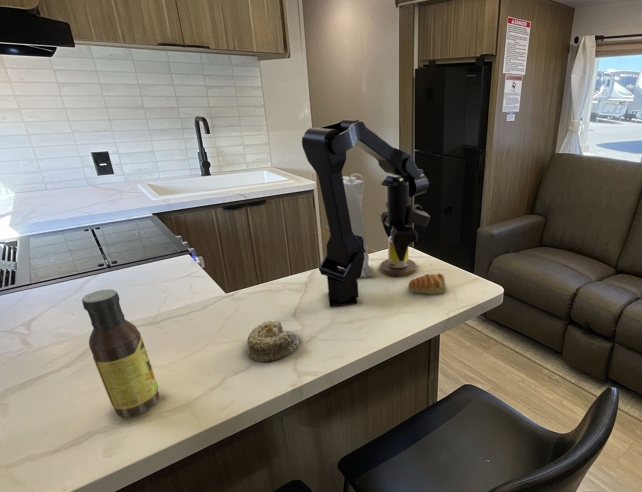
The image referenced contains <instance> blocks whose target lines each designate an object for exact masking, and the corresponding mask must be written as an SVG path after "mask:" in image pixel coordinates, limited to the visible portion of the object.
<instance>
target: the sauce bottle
mask: <svg viewBox="0 0 642 492" xmlns="http://www.w3.org/2000/svg"><path fill="white" fill-rule="evenodd" d="M81 303H82V306H83V309H84V310H85V311H87V314H88V317H89V319H90V323H91V324H90V325H91V326H92V328H93V329H92V331H91V333H90V335H89V340H88V346H89V349H90V352H91V354H92V359H93V361H94V362H93V363H94V364H95V367H96V369H97V372H98V374H99V377H100V380H101V382H102V385H103V388H104V389H105V392H106V394H107V397H108V399H109V402H110V405H111V406H112V407H113V410H114V412H115V413H116V415H118V417H120V418H133V417H137V416H139V415H142V414H144V413H146V412H148V411H150V409H152V408H153V407H154V406H156V405H157V403H158V402H159V400H160V392H159V385H158V381H157V378H156V376H155V372H154V370H153V366H152V363H151V360H150V357H149V354H148V351H147V348H146V345H145V343H144V340H143V337H142V334H141V332H140V330H139V329H138V328H137V326H136V325H134V323H132V322H130V321H128V320H127V319H126V318H125V313H124V312H123V310H122V307H121V304H120V295H119V293H118V292H117V290H115V289H110V288H109V289H100V290H96V291H92V292H90V293H88V294H86V295H84V296H83V297H82V299H81Z"/></svg>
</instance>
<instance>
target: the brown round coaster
mask: <svg viewBox="0 0 642 492" xmlns="http://www.w3.org/2000/svg"><path fill="white" fill-rule="evenodd" d="M416 270H417V265H416V262H415V261H414V260H412V259H410V258H408V265H407V266H406V267H403V268H393V267H391V266H390V265H389V263H388V259H384V260H383V261H381V263H380V272H382V274H384V275H386V276H390V277H406V276H411V275H413V274H414V273H415V272H416Z"/></svg>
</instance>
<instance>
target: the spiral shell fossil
mask: <svg viewBox="0 0 642 492" xmlns="http://www.w3.org/2000/svg"><path fill="white" fill-rule="evenodd" d="M246 343H247V348H246V355H247V357H248V358H249V359H250V360H253V361H257V362H272V361H277V360H279V359H281V358H284V357H287V356H288V355H290V354H292V352H294V351H295V350H296V349H297V348H298V346H299V344H300V337H299V335H298V334H297V333H294V332H292V331H288V330H284V327H283V326H282V323H281V320H273V321H272V320H268V321H267V322H266V321H264V322H262V323H261V324H258V325H257V326H256V327H254V328H253V329H251V332H249V334H248V337H247V341H246Z"/></svg>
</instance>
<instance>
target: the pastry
mask: <svg viewBox="0 0 642 492" xmlns="http://www.w3.org/2000/svg"><path fill="white" fill-rule="evenodd" d="M445 279H446V278H445V276H444V274H443V273H441V272H439V273H437V274H436V273H431V274H430V273H427V274H424V275H422V276H420V277H416V278H414V279H410V281H409V283H408V289H409V290H410V291H412V292H414V293H415V294H424V295H425V294H426V295H428V294H429V295H434V294H438V295H439V294H443V293H445V292H446V291H447V283H446V280H445Z"/></svg>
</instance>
